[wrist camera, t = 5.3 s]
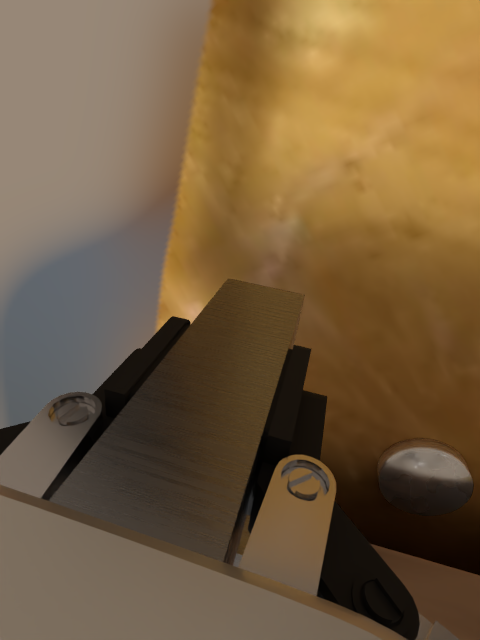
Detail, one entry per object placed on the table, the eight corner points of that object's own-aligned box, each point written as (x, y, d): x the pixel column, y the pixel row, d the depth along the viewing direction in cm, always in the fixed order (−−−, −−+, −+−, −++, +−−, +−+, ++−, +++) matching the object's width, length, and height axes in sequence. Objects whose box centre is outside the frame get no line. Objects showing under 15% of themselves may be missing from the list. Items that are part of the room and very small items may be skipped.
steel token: (390, 426, 28) (393, 442, 26) (481, 449, 27) (488, 466, 25) (367, 484, 30) (368, 501, 29) (448, 506, 29) (453, 525, 28)
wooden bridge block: (283, 440, 30) (231, 715, 16) (569, 514, 27) (810, 933, 13) (264, 523, 35) (212, 790, 21) (506, 594, 32) (633, 964, 18)
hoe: (203, 273, 15) (-112, 593, 5) (331, 300, 14) (262, 755, 4) (187, 503, 22) (39, 837, 12) (273, 531, 21) (192, 917, 11)
